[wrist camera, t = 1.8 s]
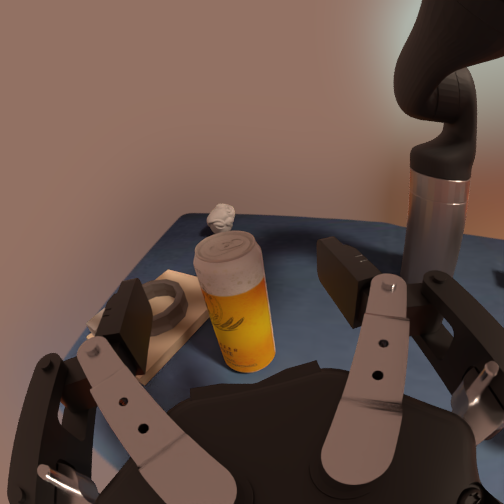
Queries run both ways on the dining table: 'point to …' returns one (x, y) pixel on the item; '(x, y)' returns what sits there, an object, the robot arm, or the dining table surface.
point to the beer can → (236, 298)
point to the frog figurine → (221, 218)
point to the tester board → (168, 317)
